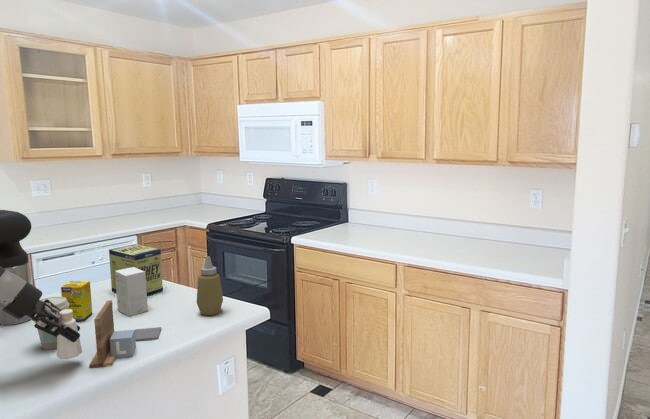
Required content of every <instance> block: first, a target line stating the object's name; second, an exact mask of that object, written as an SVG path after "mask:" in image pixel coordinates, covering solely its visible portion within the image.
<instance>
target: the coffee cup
mask: <svg viewBox="0 0 650 419" xmlns="http://www.w3.org/2000/svg"><path fill="white" fill-rule="evenodd" d="M46 299H47V300H49V301H50V302H52V303H53V304H54V305H55V306H57V307H58V308H59V309H60V310H65V309H68V307H69V302H68V301H67V299H66V298H65V297H62V296H49V297H44V298H40V300H41V301H43V302H44V301H45V300H46ZM54 313H55V312H54ZM54 328H56V329H57V327H54ZM37 333H38V336H39V342H40V345H41V348H42V349H44V350H54V349H57V337H55V336H53V335H51V334H48V333H46V332H44V331H42V330H39V329H37Z"/></svg>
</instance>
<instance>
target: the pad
mask: <svg viewBox="0 0 650 419" xmlns="http://www.w3.org/2000/svg"><path fill="white" fill-rule="evenodd" d="M134 330H135V339H136V342H144V341H145V342H146V341H156V340H159V338H160V335H161V332H162V327H161V326H159V327H147V328H146V327H145V328H135V329H134Z"/></svg>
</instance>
